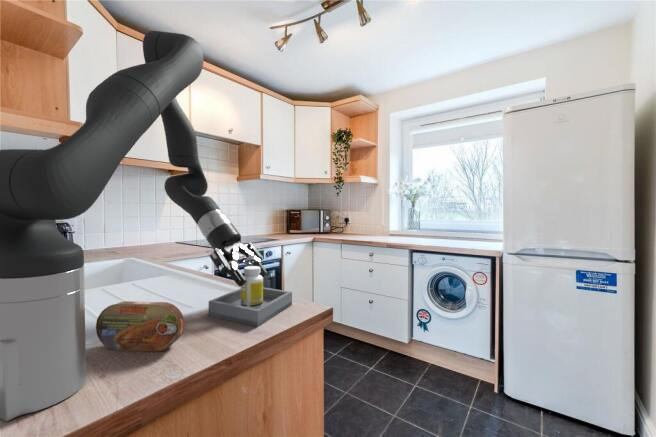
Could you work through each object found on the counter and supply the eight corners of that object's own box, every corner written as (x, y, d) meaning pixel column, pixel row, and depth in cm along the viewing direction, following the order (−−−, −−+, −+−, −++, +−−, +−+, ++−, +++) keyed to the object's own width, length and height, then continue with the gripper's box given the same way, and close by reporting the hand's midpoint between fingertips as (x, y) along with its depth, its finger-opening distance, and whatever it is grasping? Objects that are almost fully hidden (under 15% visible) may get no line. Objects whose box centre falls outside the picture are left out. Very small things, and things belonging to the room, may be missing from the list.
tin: (94, 349, 51) (93, 303, 50) (108, 341, 54) (108, 297, 54) (177, 353, 51) (177, 306, 50) (186, 344, 54) (186, 300, 53)
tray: (257, 327, 62) (258, 311, 62) (208, 315, 67) (208, 301, 67) (291, 304, 76) (292, 292, 76) (248, 297, 81) (248, 284, 81)
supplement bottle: (265, 302, 74) (266, 265, 73) (258, 310, 68) (259, 270, 68) (245, 301, 74) (246, 264, 74) (237, 309, 69) (237, 269, 68)
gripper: (206, 223, 67) (245, 277, 63) (245, 220, 80) (279, 265, 76) (189, 243, 69) (226, 297, 65) (230, 237, 82) (262, 282, 78)
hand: (254, 279), depth 71 cm, fingers open, 8 cm apart
